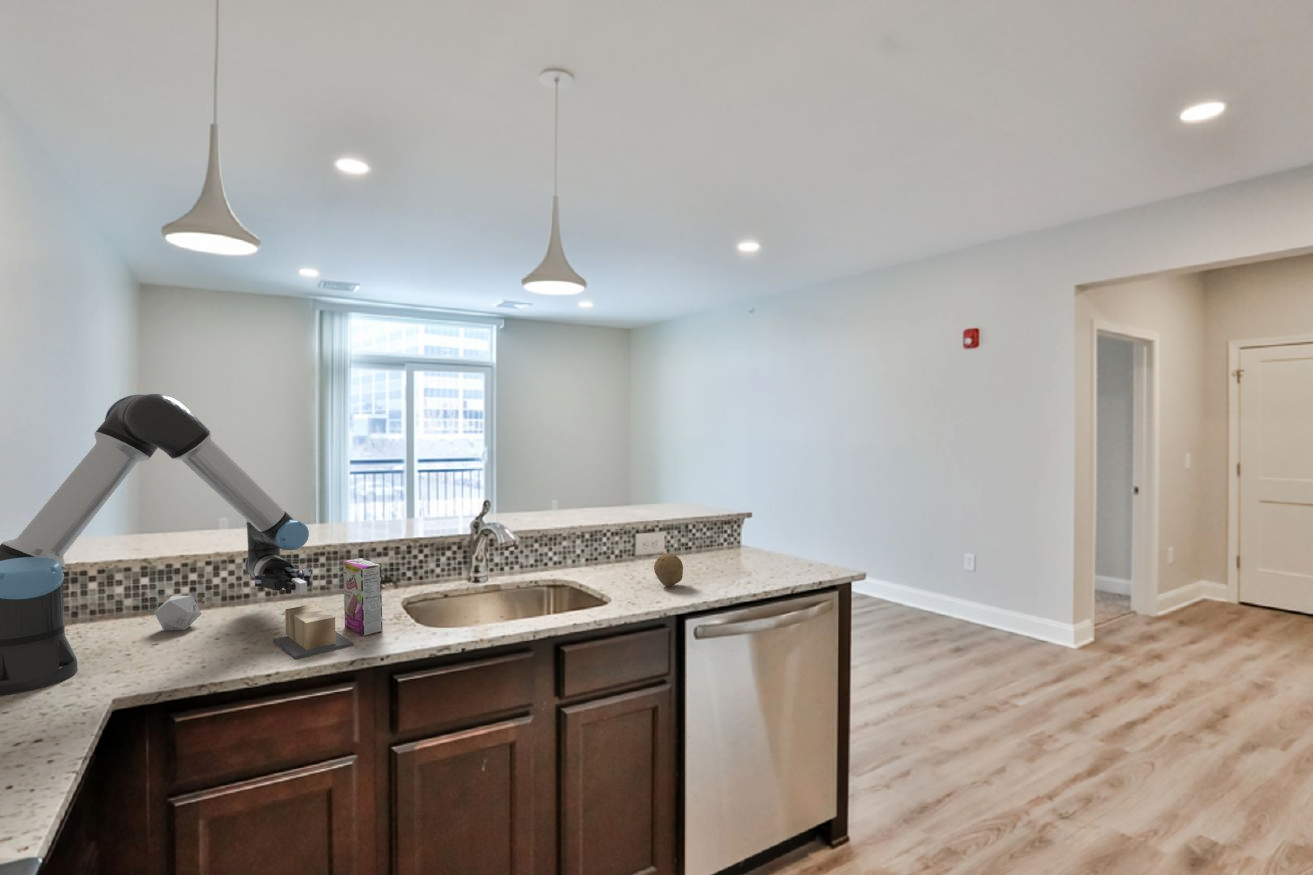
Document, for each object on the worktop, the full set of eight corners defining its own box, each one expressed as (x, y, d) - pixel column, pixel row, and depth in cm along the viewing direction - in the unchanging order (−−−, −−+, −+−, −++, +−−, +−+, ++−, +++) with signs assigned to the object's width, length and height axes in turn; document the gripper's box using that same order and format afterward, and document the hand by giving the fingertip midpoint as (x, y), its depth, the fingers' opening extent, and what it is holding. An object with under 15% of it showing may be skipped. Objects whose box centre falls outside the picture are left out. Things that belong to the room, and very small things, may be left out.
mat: (295, 659, 140) (295, 656, 140) (273, 641, 151) (273, 638, 151) (353, 645, 148) (353, 642, 148) (328, 629, 159) (328, 626, 159)
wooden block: (285, 634, 154) (306, 650, 143) (285, 609, 154) (306, 622, 143) (313, 628, 158) (335, 643, 147) (312, 603, 158) (335, 616, 147)
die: (165, 639, 155) (194, 603, 158) (138, 619, 157) (168, 584, 159) (188, 640, 163) (215, 606, 166) (162, 622, 164) (190, 588, 167)
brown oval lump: (657, 581, 203) (657, 549, 203) (686, 582, 202) (685, 550, 201) (651, 589, 194) (651, 555, 194) (681, 590, 193) (680, 556, 192)
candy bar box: (343, 627, 161) (341, 560, 161) (363, 622, 165) (362, 557, 164) (362, 637, 154) (361, 567, 153) (383, 631, 157) (382, 563, 157)
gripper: (302, 582, 175) (333, 598, 158) (246, 591, 166) (272, 610, 149) (302, 554, 174) (332, 567, 158) (245, 561, 165) (271, 577, 148)
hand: (303, 588), depth 153 cm, fingers closed
